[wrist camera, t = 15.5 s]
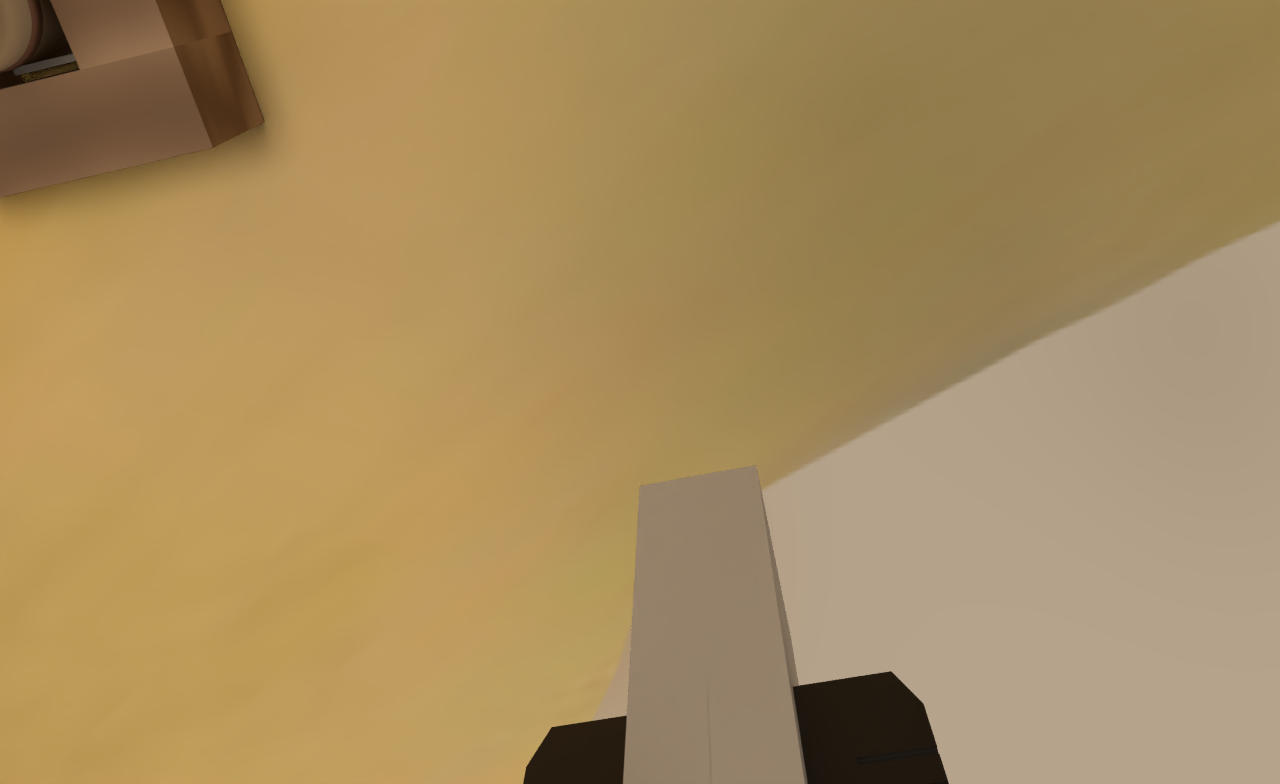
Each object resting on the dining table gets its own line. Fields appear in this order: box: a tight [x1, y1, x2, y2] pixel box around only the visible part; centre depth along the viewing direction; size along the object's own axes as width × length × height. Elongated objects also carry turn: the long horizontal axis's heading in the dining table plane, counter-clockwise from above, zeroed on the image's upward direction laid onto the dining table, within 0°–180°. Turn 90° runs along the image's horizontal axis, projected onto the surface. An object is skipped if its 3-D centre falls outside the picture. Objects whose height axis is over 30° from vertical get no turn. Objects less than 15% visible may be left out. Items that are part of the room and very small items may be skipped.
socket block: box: [0, 0, 264, 197], centre depth 37 cm, size 12×12×5 cm
